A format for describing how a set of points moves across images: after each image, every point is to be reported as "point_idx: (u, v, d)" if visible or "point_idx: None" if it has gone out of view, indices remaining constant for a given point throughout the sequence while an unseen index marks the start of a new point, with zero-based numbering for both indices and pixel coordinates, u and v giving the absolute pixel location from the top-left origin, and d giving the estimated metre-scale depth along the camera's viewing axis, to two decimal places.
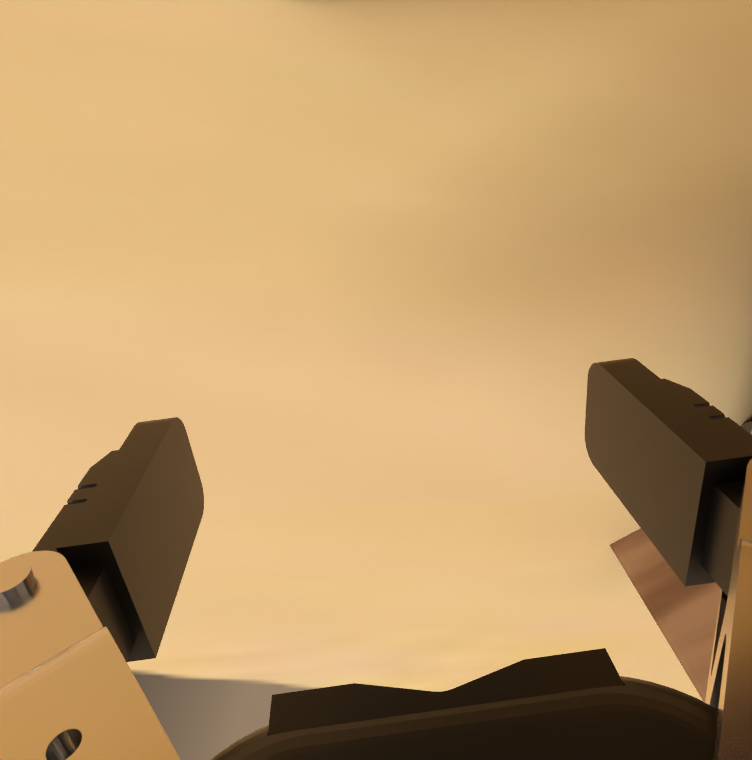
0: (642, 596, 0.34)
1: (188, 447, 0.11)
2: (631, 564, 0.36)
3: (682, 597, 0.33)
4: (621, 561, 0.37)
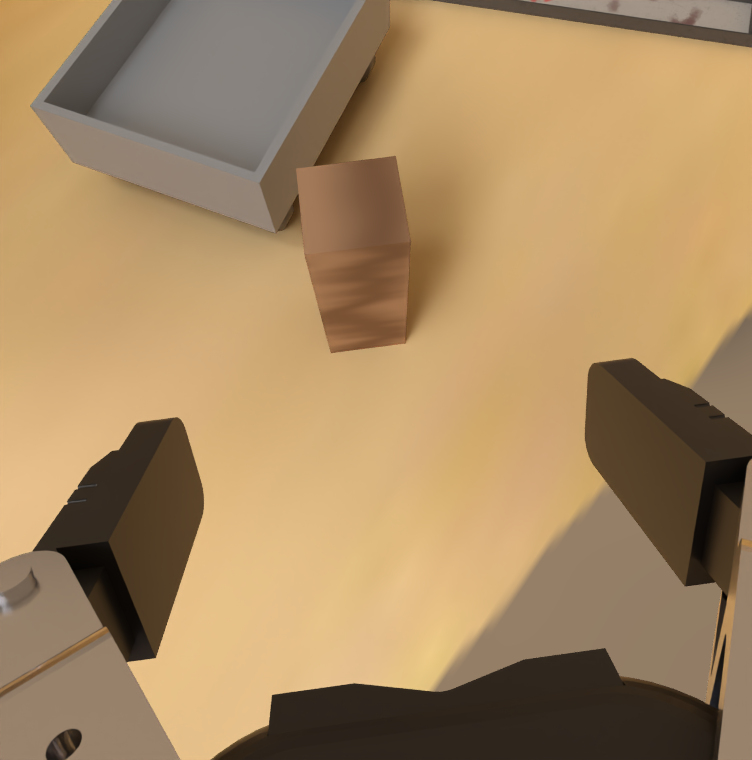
0: (323, 323, 0.33)
1: (188, 447, 0.11)
2: None
3: None
4: (328, 342, 0.36)
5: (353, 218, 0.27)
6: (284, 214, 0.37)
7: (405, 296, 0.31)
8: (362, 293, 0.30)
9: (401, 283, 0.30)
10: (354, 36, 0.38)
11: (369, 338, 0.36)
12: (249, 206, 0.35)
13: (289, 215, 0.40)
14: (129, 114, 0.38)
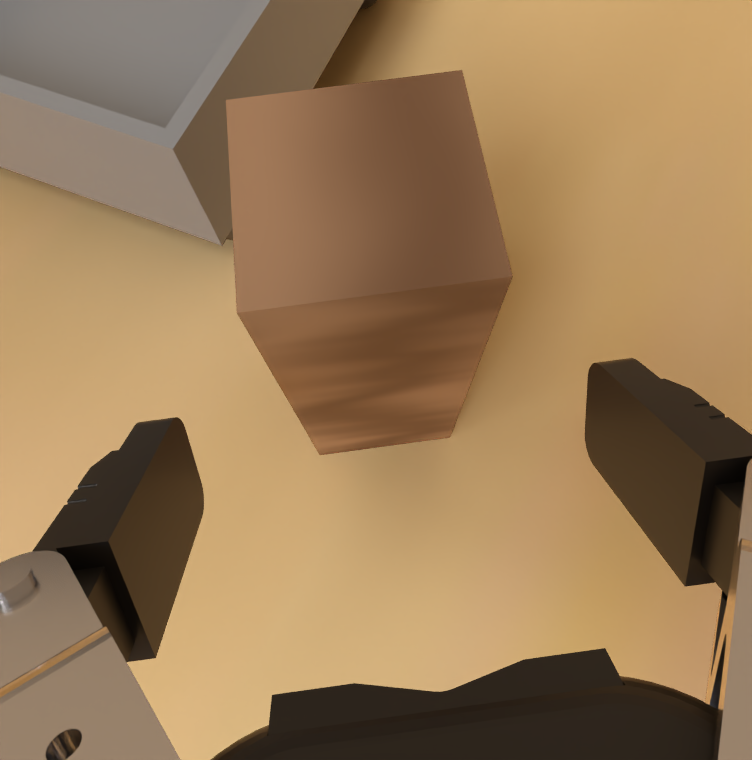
0: None
1: (188, 447, 0.11)
2: None
3: None
4: None
5: (363, 218, 0.11)
6: None
7: (468, 378, 0.15)
8: (380, 378, 0.14)
9: (465, 359, 0.14)
10: None
11: (388, 435, 0.20)
12: (168, 197, 0.19)
13: None
14: None
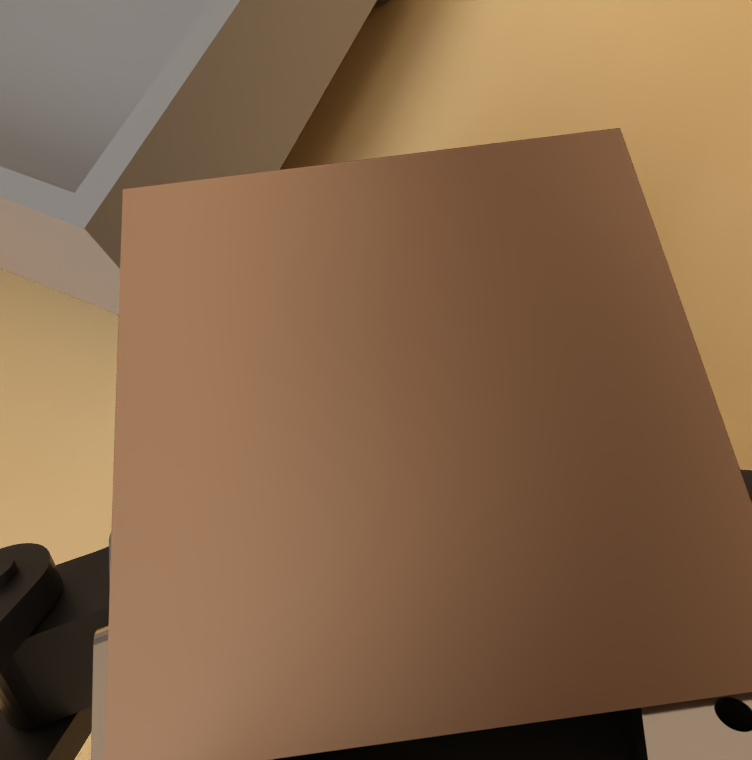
0: None
1: None
2: None
3: None
4: None
5: (425, 494, 0.04)
6: None
7: None
8: None
9: None
10: None
11: None
12: (97, 282, 0.13)
13: None
14: None
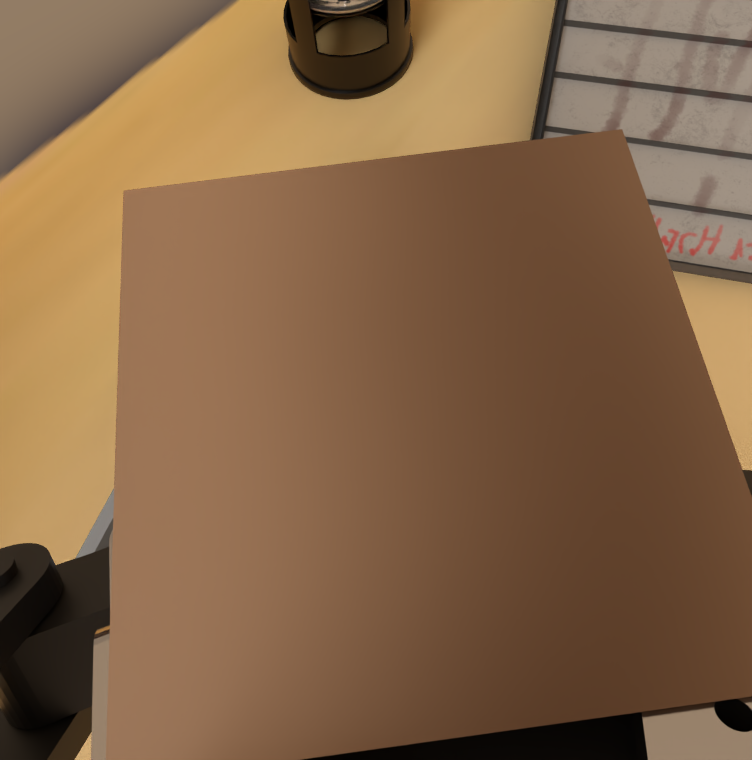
0: None
1: None
2: None
3: None
4: None
5: (427, 497, 0.04)
6: None
7: None
8: None
9: None
10: None
11: None
12: None
13: None
14: None
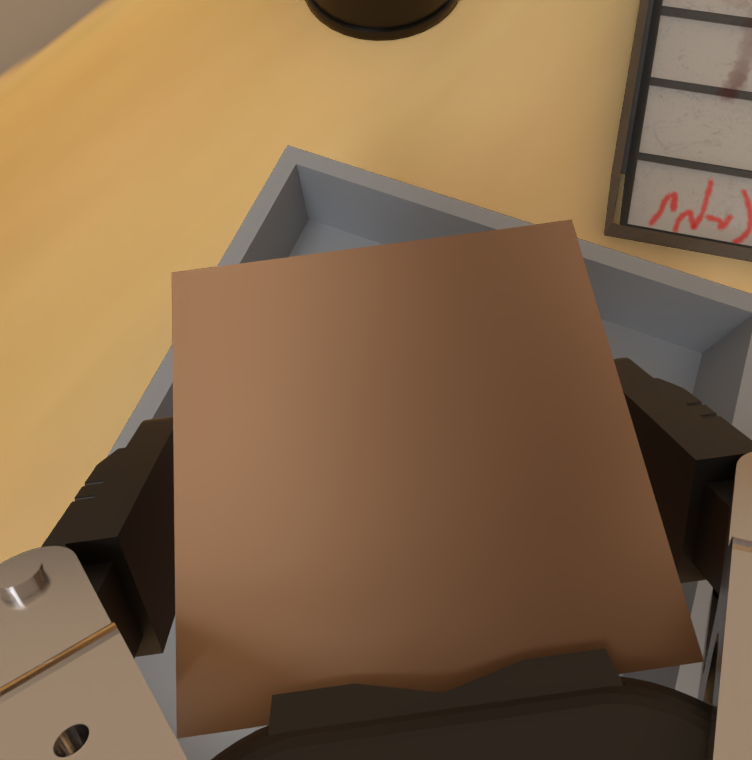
0: None
1: None
2: None
3: None
4: None
5: (414, 520, 0.06)
6: None
7: None
8: None
9: None
10: None
11: None
12: None
13: None
14: (168, 672, 0.16)
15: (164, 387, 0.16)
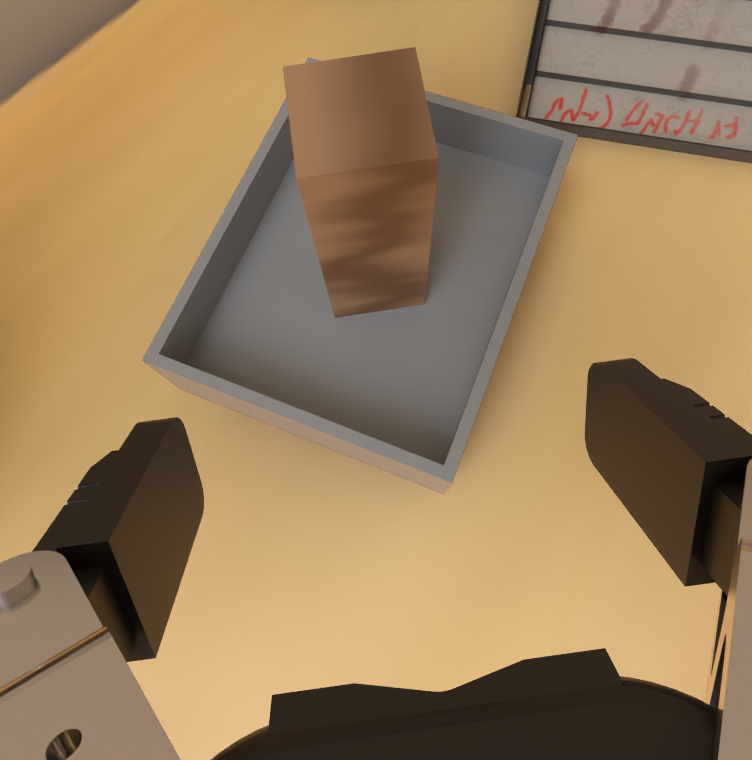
0: (324, 279, 0.27)
1: (188, 447, 0.11)
2: None
3: None
4: (331, 304, 0.30)
5: (361, 129, 0.20)
6: None
7: (428, 240, 0.25)
8: (372, 237, 0.24)
9: (423, 222, 0.23)
10: None
11: (381, 298, 0.29)
12: (420, 479, 0.28)
13: None
14: (252, 338, 0.31)
15: (247, 184, 0.30)
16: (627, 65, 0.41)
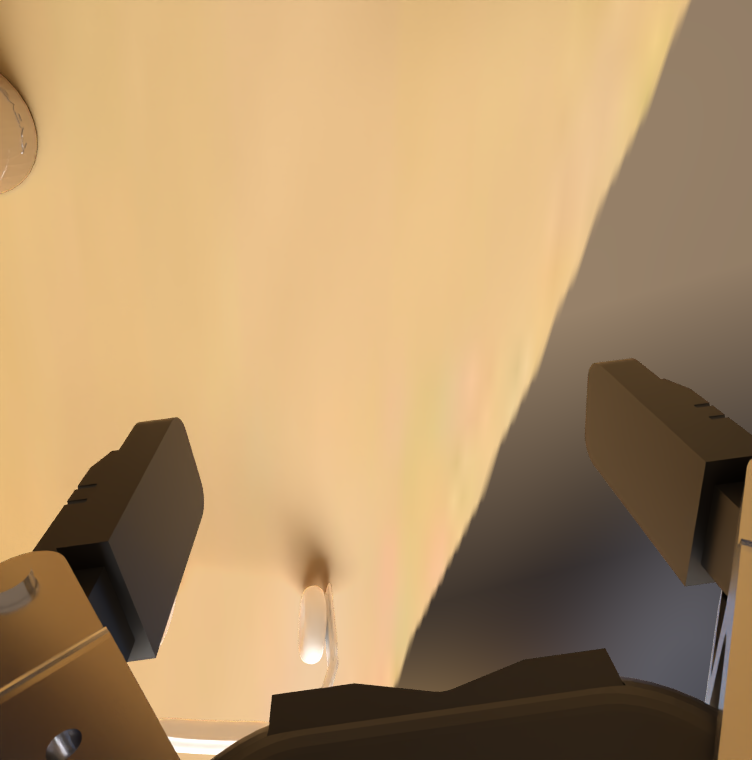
0: None
1: (188, 447, 0.11)
2: None
3: None
4: None
5: None
6: None
7: None
8: None
9: None
10: None
11: None
12: None
13: None
14: None
15: None
16: None
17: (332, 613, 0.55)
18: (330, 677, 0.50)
